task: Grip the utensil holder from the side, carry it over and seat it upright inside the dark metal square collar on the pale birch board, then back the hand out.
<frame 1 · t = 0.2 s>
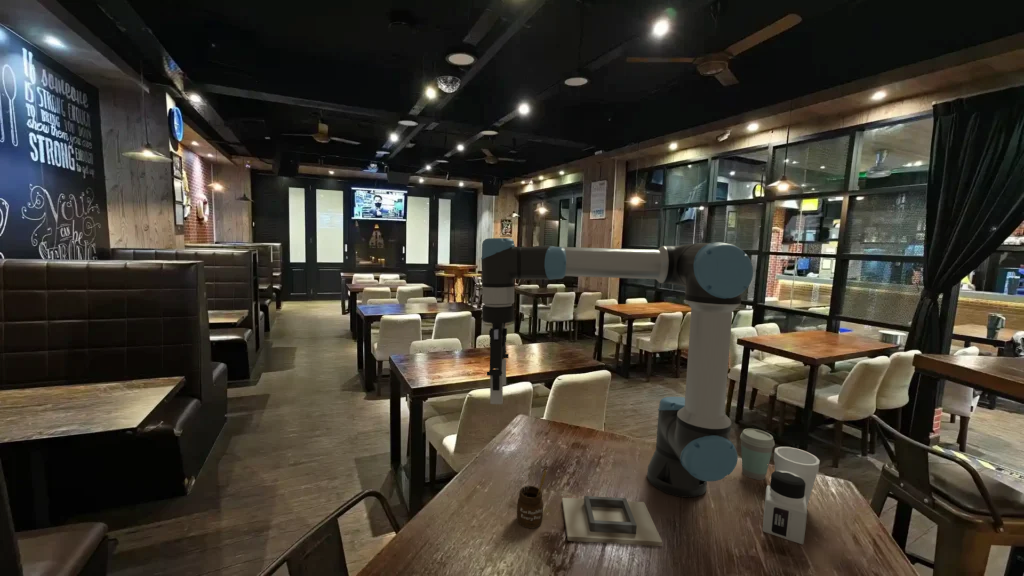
hand: (498, 393, 102), 27 cm above the table, tool pointing down, fingers open, 13 cm apart
foam cup: (791, 505, 108), on the table
collar board: (608, 522, 98), on the table
utensil holder: (530, 521, 98), on the table
coffee cup: (753, 475, 122), on the table
container: (782, 530, 98), on the table
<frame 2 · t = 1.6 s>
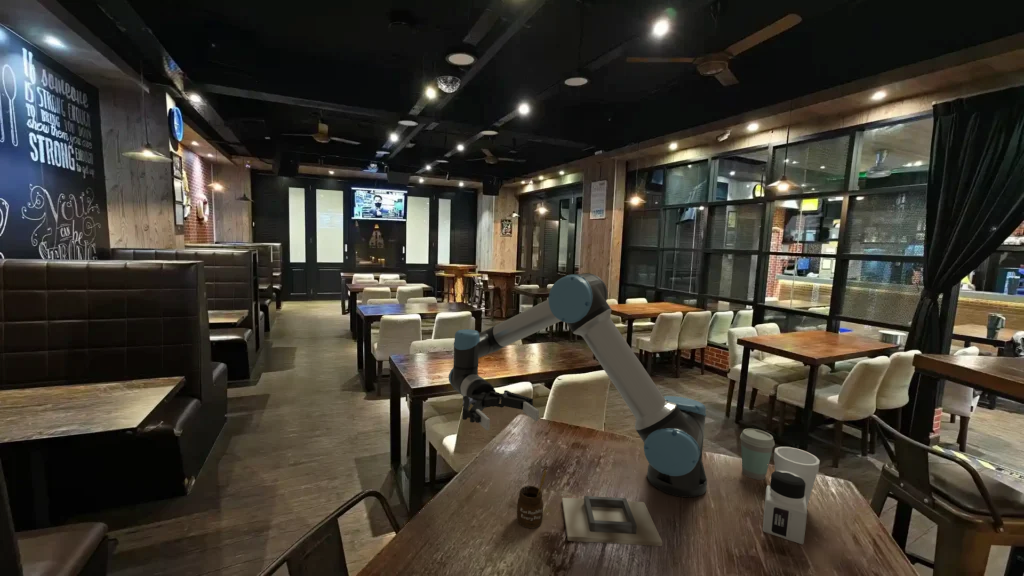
hand: (513, 420, 104), 20 cm above the table, tool horizontal, fingers open, 13 cm apart
nothing on the table moved.
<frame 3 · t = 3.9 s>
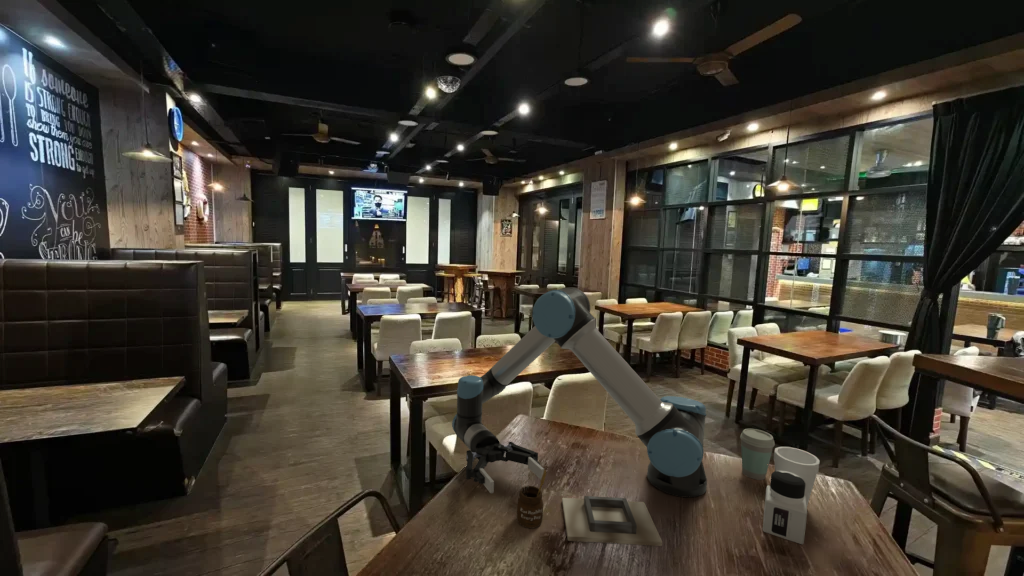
hand: (518, 480, 101), 7 cm above the table, tool horizontal, fingers open, 13 cm apart
nothing on the table moved.
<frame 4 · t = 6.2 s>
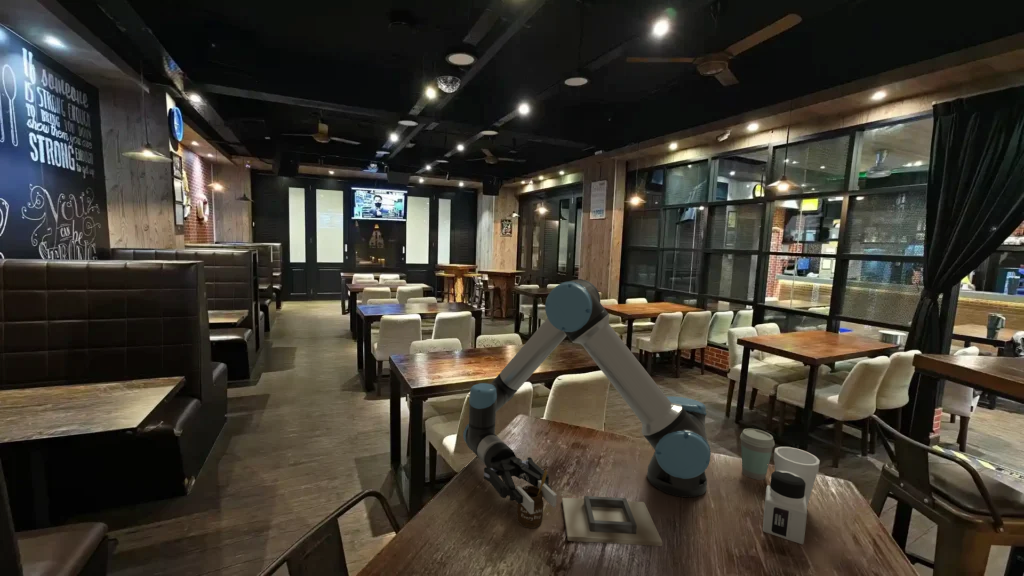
hand: (543, 504, 92), 7 cm above the table, tool horizontal, fingers closed on utensil holder, 5 cm apart
utensil holder: (530, 521, 98), on the table, touching gripper
everything else where it was.
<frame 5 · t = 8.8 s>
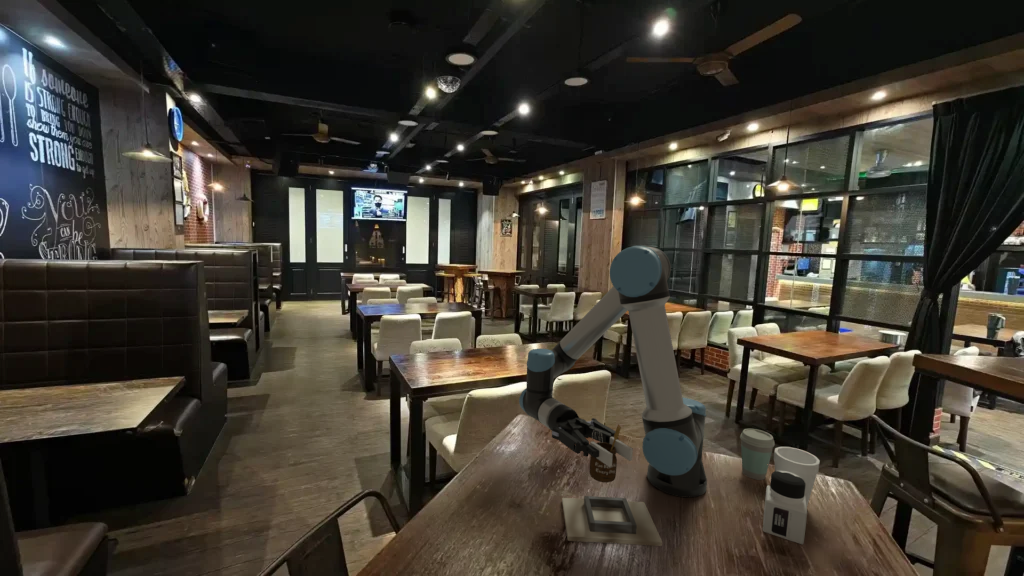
hand: (621, 457, 92), 18 cm above the table, tool horizontal, fingers closed on utensil holder, 5 cm apart
utensil holder: (602, 477, 97), point 11 cm above the table, touching gripper
everything else where it was.
when the fingers open (9 cm above the table, at t = 11.5 s): utensil holder stays where it is, resting on collar board.
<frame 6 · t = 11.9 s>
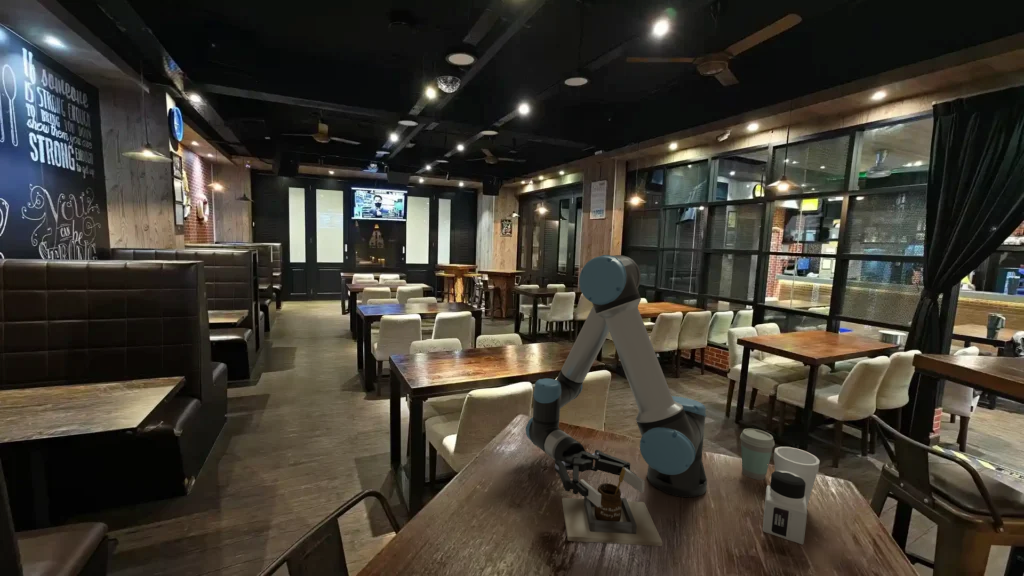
hand: (622, 493, 94), 9 cm above the table, tool horizontal, fingers open, 12 cm apart
utensil holder: (607, 518, 98), point 1 cm above the table, touching collar board
everything else where it was.
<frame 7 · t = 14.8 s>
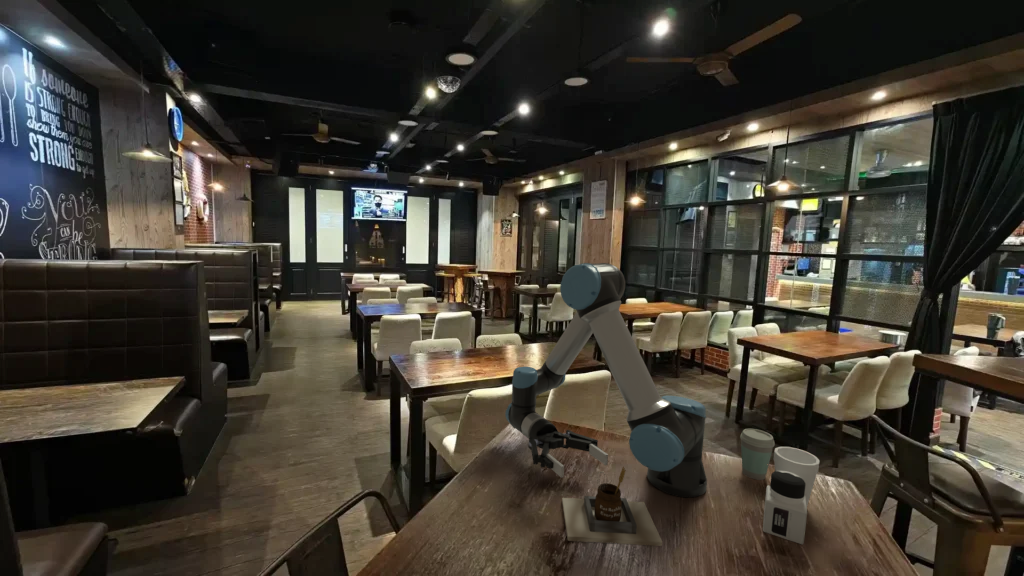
hand: (585, 465, 105), 9 cm above the table, tool horizontal, fingers open, 13 cm apart
nothing on the table moved.
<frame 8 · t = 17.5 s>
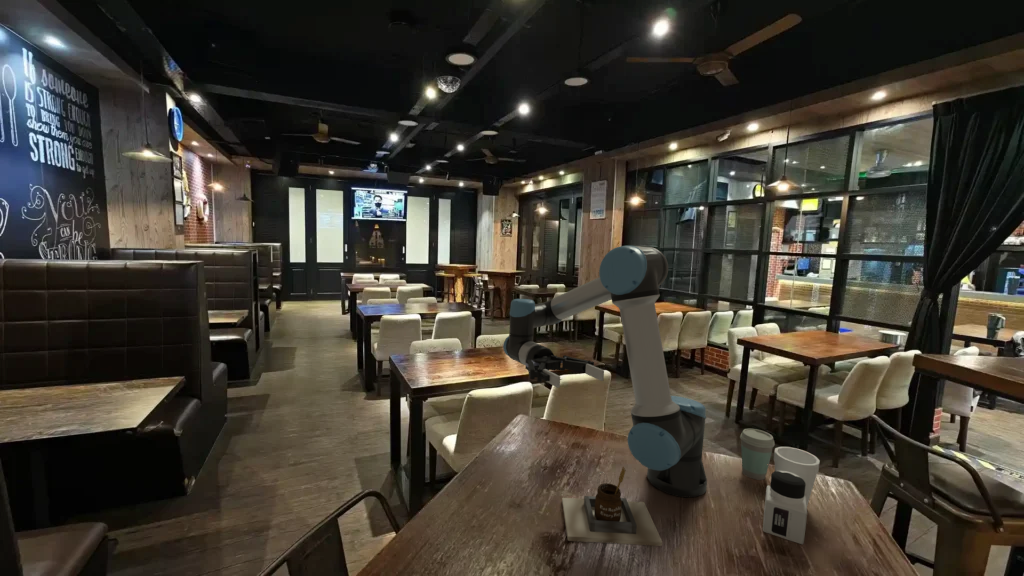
hand: (581, 378, 106), 30 cm above the table, tool horizontal, fingers open, 13 cm apart
nothing on the table moved.
at the end: utensil holder 0.2 cm off-centre on the collar board, point 0.8 cm above the collar board's base; utensil holder tilted 0°; the gripper is holding nothing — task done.
